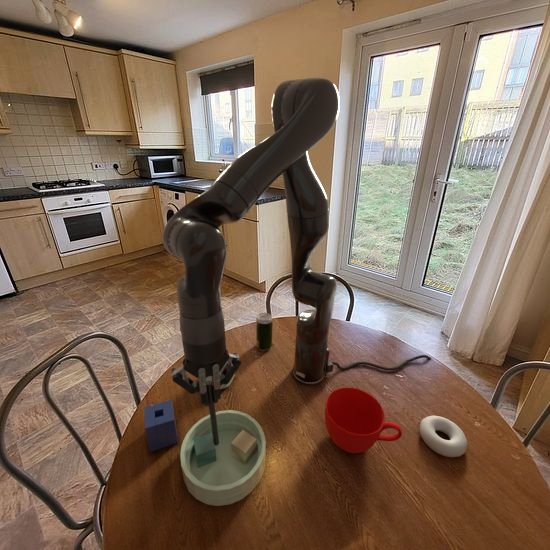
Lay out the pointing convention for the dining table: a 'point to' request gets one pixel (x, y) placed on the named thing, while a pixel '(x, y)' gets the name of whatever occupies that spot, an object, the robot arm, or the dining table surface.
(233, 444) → the cream block
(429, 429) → the donut
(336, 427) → the ceramic cup
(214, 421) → the stick
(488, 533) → the dining table surface
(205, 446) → the teal block
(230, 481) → the bowl
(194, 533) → the dining table surface
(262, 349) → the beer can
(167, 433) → the holder
